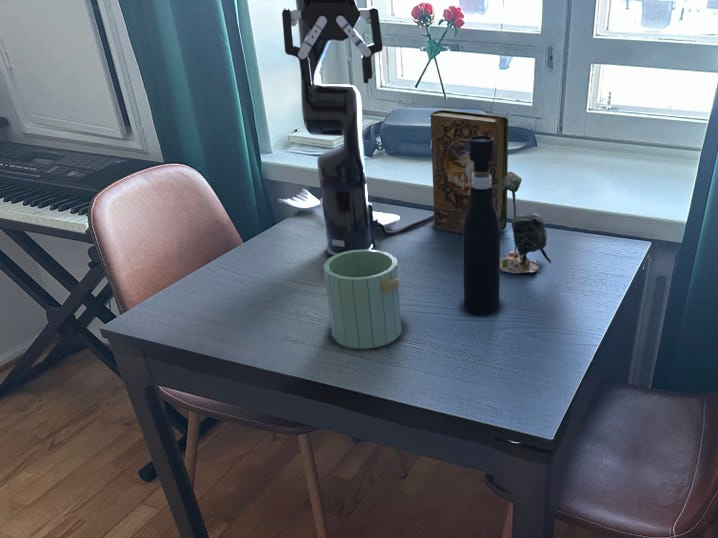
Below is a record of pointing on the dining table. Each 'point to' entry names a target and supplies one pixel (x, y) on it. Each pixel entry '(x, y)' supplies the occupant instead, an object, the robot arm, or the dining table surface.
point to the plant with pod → (523, 234)
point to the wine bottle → (481, 235)
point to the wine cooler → (363, 298)
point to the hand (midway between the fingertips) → (337, 83)
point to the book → (465, 164)
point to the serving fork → (313, 203)
